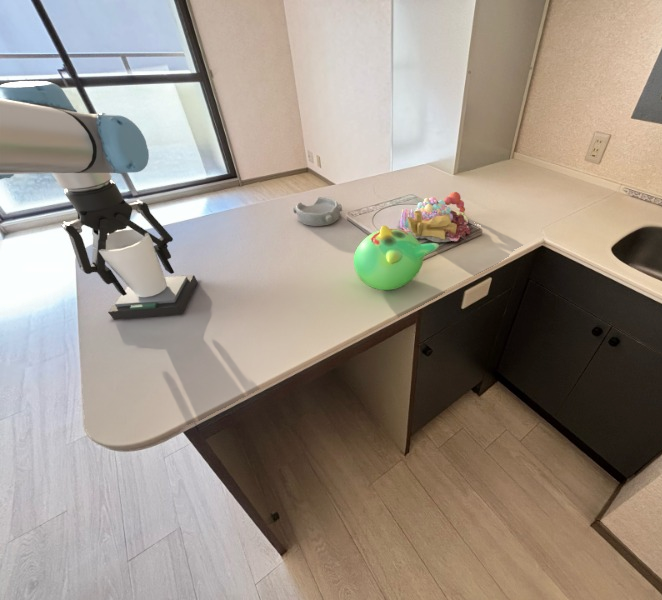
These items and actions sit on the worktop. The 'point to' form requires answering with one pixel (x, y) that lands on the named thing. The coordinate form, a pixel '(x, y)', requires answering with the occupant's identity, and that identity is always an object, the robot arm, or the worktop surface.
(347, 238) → the worktop surface
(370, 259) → the toy bird
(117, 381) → the worktop surface
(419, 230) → the candy landscape model
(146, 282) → the foam cup
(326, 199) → the dish
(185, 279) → the scale
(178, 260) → the worktop surface
